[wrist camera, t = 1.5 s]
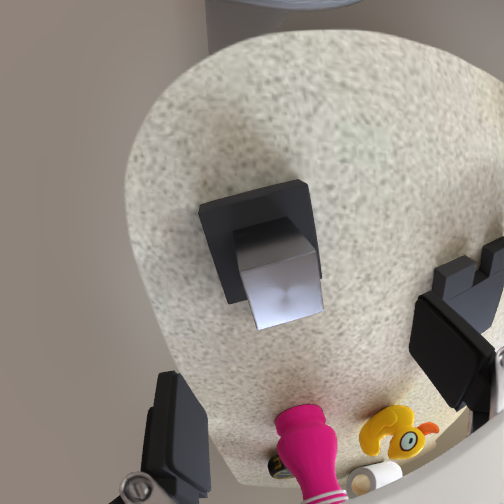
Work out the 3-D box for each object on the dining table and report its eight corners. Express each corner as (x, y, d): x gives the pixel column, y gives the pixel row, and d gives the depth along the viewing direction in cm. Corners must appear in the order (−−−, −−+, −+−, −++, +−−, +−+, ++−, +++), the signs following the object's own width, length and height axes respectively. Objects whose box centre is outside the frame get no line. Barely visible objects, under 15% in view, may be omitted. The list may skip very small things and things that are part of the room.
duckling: (413, 383, 32) (444, 431, 23) (416, 396, 34) (443, 439, 25) (348, 423, 34) (370, 476, 25) (357, 432, 36) (377, 479, 27)
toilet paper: (342, 477, 48) (352, 507, 39) (368, 460, 45) (381, 492, 36) (368, 472, 51) (379, 499, 42) (394, 454, 48) (407, 483, 39)
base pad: (434, 268, 24) (446, 277, 22) (503, 236, 24) (513, 242, 22) (417, 358, 29) (425, 368, 28) (483, 319, 30) (491, 326, 28)
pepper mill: (272, 406, 29) (310, 561, 10) (330, 396, 29) (386, 536, 11) (269, 433, 31) (298, 561, 13) (320, 425, 32) (361, 543, 14)
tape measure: (315, 448, 36) (321, 466, 33) (287, 464, 38) (291, 480, 34) (285, 444, 34) (290, 464, 30) (257, 460, 35) (260, 479, 32)
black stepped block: (199, 204, 18) (190, 248, 12) (298, 178, 18) (346, 206, 12) (236, 317, 22) (246, 388, 16) (318, 295, 23) (353, 356, 16)
